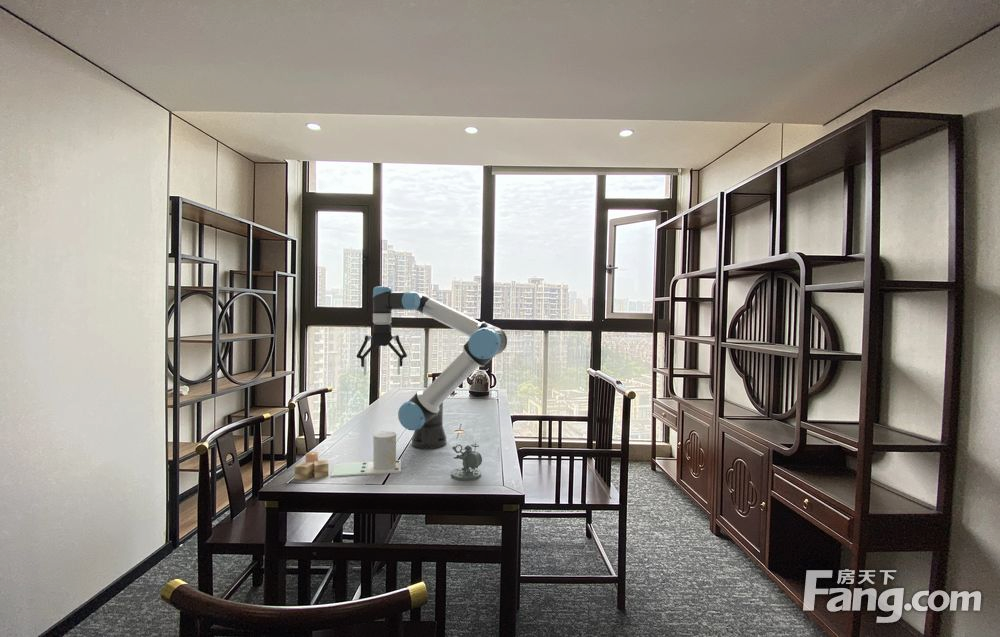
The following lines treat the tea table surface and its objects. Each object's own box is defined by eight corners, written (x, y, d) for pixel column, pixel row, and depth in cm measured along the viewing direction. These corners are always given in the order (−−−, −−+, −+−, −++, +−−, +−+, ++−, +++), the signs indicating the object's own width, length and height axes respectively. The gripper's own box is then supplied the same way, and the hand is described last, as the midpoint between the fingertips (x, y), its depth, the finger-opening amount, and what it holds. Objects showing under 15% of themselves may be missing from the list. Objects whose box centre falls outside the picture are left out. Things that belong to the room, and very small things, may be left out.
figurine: (462, 468, 169) (463, 436, 169) (487, 473, 163) (487, 441, 163) (445, 477, 160) (445, 443, 159) (470, 483, 154) (470, 448, 154)
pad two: (401, 461, 175) (401, 459, 175) (400, 472, 164) (400, 470, 164) (369, 463, 173) (369, 461, 173) (366, 474, 161) (366, 472, 161)
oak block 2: (327, 472, 164) (327, 459, 164) (328, 476, 160) (328, 463, 160) (314, 473, 162) (314, 461, 162) (314, 478, 158) (314, 465, 158)
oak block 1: (313, 475, 160) (313, 462, 160) (307, 480, 156) (307, 467, 156) (301, 474, 161) (301, 462, 161) (294, 479, 157) (294, 466, 156)
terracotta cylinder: (319, 467, 168) (319, 451, 168) (317, 471, 164) (317, 455, 164) (306, 467, 167) (306, 451, 167) (304, 472, 163) (304, 455, 163)
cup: (390, 470, 163) (390, 438, 163) (369, 469, 165) (369, 436, 165) (399, 463, 171) (399, 432, 171) (379, 461, 173) (379, 430, 173)
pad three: (369, 463, 173) (369, 461, 173) (366, 474, 161) (366, 472, 161) (336, 465, 170) (336, 463, 170) (331, 477, 159) (331, 474, 159)
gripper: (412, 323, 194) (412, 372, 195) (351, 323, 189) (351, 373, 189) (412, 324, 187) (412, 375, 187) (349, 324, 181) (349, 376, 182)
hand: (382, 374), depth 188 cm, fingers open, 13 cm apart
